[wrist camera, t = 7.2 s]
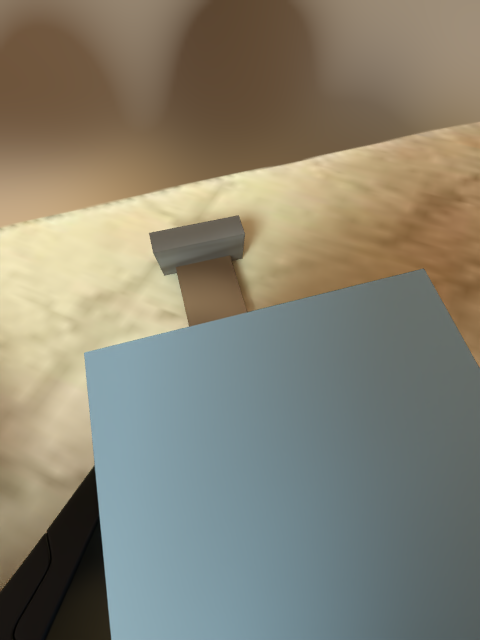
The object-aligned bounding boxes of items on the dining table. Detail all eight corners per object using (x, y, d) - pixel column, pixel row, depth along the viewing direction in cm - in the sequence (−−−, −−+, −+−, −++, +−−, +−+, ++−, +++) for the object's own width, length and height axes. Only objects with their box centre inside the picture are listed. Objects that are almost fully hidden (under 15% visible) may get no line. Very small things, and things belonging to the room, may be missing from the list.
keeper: (295, 451, 15) (672, 715, 2) (218, 476, 14) (147, 1024, 2) (271, 374, 16) (423, 268, 4) (199, 394, 15) (84, 352, 3)
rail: (316, 490, 15) (346, 519, 11) (216, 525, 14) (213, 569, 10) (237, 242, 20) (239, 204, 16) (160, 258, 19) (144, 222, 15)
